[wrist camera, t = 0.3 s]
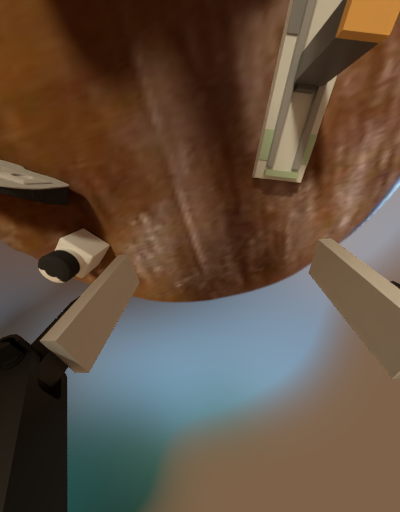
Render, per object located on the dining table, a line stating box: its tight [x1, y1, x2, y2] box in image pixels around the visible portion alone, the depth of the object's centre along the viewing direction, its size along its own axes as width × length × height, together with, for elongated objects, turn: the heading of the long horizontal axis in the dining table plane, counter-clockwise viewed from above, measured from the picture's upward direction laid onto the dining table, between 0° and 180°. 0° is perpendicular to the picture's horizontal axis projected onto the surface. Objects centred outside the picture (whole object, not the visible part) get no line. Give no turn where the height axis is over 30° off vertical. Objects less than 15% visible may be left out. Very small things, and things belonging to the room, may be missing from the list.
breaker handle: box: [294, 0, 400, 94], centre depth 20 cm, size 4×4×11 cm
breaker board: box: [252, 0, 342, 183], centre depth 26 cm, size 26×9×4 cm, turn 174°
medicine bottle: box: [38, 229, 110, 283], centre depth 36 cm, size 7×7×12 cm
